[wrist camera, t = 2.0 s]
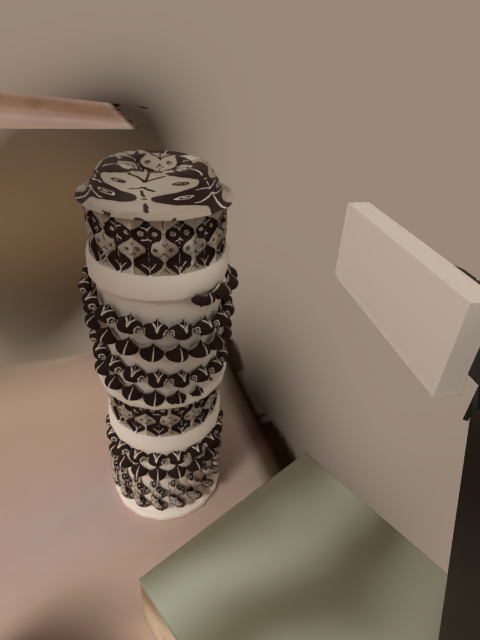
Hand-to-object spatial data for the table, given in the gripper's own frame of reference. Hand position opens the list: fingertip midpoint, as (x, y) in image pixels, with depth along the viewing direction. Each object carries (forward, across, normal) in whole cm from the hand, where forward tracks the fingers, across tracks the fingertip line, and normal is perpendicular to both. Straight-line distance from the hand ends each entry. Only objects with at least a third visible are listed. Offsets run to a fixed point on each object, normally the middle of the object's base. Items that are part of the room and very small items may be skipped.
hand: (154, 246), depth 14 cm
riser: (-2, +7, -25) cm, 26 cm away
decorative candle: (+10, 0, -25) cm, 27 cm away
